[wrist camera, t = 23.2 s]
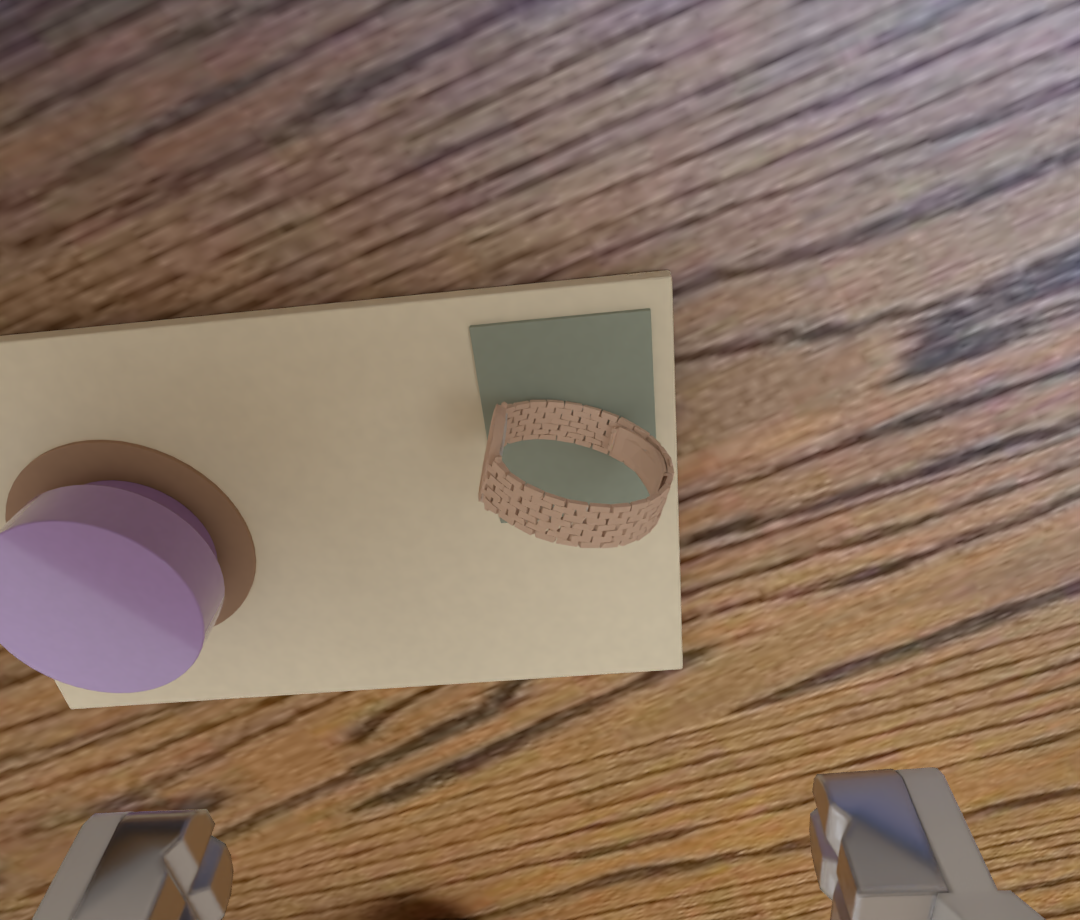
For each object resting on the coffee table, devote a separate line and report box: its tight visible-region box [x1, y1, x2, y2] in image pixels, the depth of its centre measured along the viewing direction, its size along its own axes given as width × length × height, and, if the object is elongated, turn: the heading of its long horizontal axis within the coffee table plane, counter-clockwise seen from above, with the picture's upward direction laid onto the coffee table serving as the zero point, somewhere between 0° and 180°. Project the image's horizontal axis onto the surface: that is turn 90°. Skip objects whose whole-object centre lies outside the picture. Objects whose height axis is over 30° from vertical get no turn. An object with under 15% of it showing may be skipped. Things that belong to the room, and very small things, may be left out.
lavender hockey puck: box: [0, 480, 225, 693], centre depth 25 cm, size 6×6×3 cm
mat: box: [0, 270, 683, 709], centre depth 26 cm, size 14×22×1 cm, turn 96°
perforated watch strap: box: [478, 399, 675, 548], centre depth 22 cm, size 3×5×5 cm, turn 78°
